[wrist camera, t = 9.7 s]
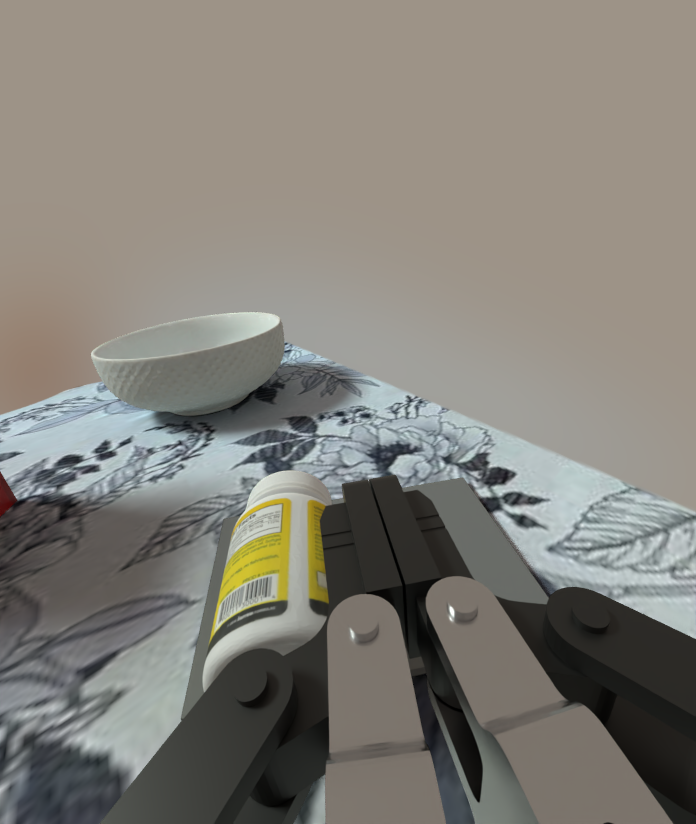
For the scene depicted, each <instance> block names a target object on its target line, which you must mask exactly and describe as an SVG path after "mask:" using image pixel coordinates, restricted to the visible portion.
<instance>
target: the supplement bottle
mask: <svg viewBox="0 0 696 824" xmlns="http://www.w3.org/2000/svg"><path fill="white" fill-rule="evenodd" d="M328 505H332V501H331V496H330V493H329V491H328V489H327V488H326V486H325V485H324V484H323V483H322V482H321V481H320V480H319V479H317V478H316V477H314V476H312V475H310V474H308V473H304V472H300V471H281V472H277V473H274V474H271V475H269V476H267V477H265V478H264V479H262V480H261V481H260V482H259V483H258V484H257V485H256V486H255V487H254V488H253V490H252V492H251V494H250V496H249V499H248V503H247V507H246V510H245V511H244V513H243V514H242V515H241V516H240V518H239V519H238V521H237V523H236V525H235V527H234V530H233V533H232V536H231V541H230V546H229V551H228V556H227V561H226V565H225V569H224V574H223V579H222V584H221V589H220V594H219V598H218V603H217V608H216V612H215V617H214V622H213V627H212V632H211V637H210V641H209V646H208V651H207V655H206V660H205V665H204V670H203V690H204V692H205V691H206V690H207V689H208V687H209V686H210V685H211V684H212V682H213V681H214V680H215V679H216V677H217V676H218V675H219V674H220V672H221V671H222V670H223V669H224V668H225V667H226V665H227V664H228V663H230V662H231V661H232V660H233V659H234V658H236V657H237V656H239V655H240V654H242V653H244V652H246V651H249V650H253V649H258V648H267V649H272V650H274V651H277V652H279V653H280V654H281V655H283V656H284V655H286V654H288V653H289V652H291V651H293V650H295V649H297V648H298V647H300V646H302V645H304V644H305V643H307V642H308V641H310V640H311V639H312V638H313V637H314V636H315V635H316V634H317V633H318V632H319V631H320V629H321V628H322V626H323V625H324V623H325V621H326V618H327V615H328V610H329V599H328V590H327V582H326V573H325V564H324V555H323V546H322V537H321V529H320V518H321V516H322V513H323V511H324V509H325V506H328Z"/></svg>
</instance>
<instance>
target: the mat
mask: <svg viewBox="0 0 696 824" xmlns="http://www.w3.org/2000/svg"><path fill="white" fill-rule="evenodd" d="M402 490H403V492H407V491H413V490H419V491H420V492H421V493H423V494H424V495H425V496H427V497H428V498H429V499H430V500H432V502H433V504H434V506H435V508H436V510H437V512H438V513H439V517H441V519H442V521H443V523H444V525H445V528H446V529H447V530H448V532H449V534H450V536H451V538H452V540H453V541H454V543H455V545H456V547H457V549H458V551H459V553H460V555H461V556H462V558H463V560H464V562H465V564H466V566H467V568H468V570H469V571H470V573H471V575H472V576H473V578H474V579H475V580H476V581H478V582H480V583H482V584H483V585H484V586H486V587H487V588H488V589H489V590H490V591H491V592H492V593H493V594H494V595H495V596H498V597H500V598H503V599H507V600H511V601H518V602H528V603H537V604H547V601H548V599H549V598H548V596H547V595H546V594H545V592H544V591H543V589H542V588H541V587H540V585H539V584H538V582H537V581H536V580H535V578H534V577H533V575H532V574H531V572H530V571H529V570H528V568H527V567H526V565H525V564H524V563H523V561H522V560H521V558H520V557H519V556H518V554H517V553H516V551H515V550H514V549H513V547H512V546H511V544H510V543H509V541H508V540H507V539H506V537H505V536H504V534H503V533H502V532H501V530H500V529H499V527H498V526H497V525H496V523H495V522H494V520H493V519H492V518H491V516H490V515H489V513H488V512H487V510H486V509H485V508H484V506H483V505H482V503H481V502H480V501H479V499H478V498H477V496H476V495H475V494H474V492H473V491H472V489H471V488H470V487H469V485H468V484H467V482H466V481H465V480H464V478H457V479H451V480H445V481H440V482H434V483H428V484H422V485H416V486H411V487H405V488H402ZM331 501H332V505H333V504H339V503H344V499H343V498H341V499H336V500H331ZM239 518H240V516H237V517H231V518H226V519H224V520H223V525H222V529H221V534H220V539H219V543H218V548H217V553H216V557H215V562H214V567H213V571H212V576H211V581H210V585H209V590H208V594H207V599H206V604H205V608H204V613H203V618H202V622H201V627H200V632H199V636H198V641H197V646H196V650H195V655H194V660H193V664H192V669H191V674H190V678H189V683H188V688H187V692H186V697H185V701H184V706H183V711H182V715H181V720H183V719H184V717H185V716H186V715H187V714H188V712H189V711H190V710H191V709H192V707H193V706H194V705H195V704H196V702H197V701H198V700H199V699H200V697H201V696H202V695H203V694H204V690H203V670H204V665H205V660H206V655H207V651H208V646H209V641H210V637H211V632H212V627H213V622H214V617H215V612H216V608H217V603H218V598H219V594H220V589H221V584H222V579H223V574H224V569H225V565H226V561H227V556H228V551H229V546H230V541H231V536H232V533H233V530H234V527H235V525H236V523H237V521H238V519H239ZM406 653H407V658H408V663H409V668H410V673H411V677H412V676H416V675H421V674H426V670H425V667H424V664H423V661H422V657H417V658H412V659H409V655H408V652H407V648H406Z"/></svg>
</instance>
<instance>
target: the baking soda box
mask: <svg viewBox="0 0 696 824" xmlns="http://www.w3.org/2000/svg"><path fill="white" fill-rule="evenodd" d="M16 501H17V499H16V497H15V496H14V494H13V492H12V491H11V489H10V487H9V486H8V484H7V482H6V481H5V479H4V477H3V475H2V474H1V472H0V517H1V516H2V515H3V514H4V513H5V512H6V511H7V510H8V509H9V508H10V507H11V506H12V505H13V504H14V503H15V502H16Z"/></svg>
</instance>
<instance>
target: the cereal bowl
mask: <svg viewBox="0 0 696 824" xmlns="http://www.w3.org/2000/svg"><path fill="white" fill-rule="evenodd" d="M284 347H285V345H284V333H283V325H282V322H281V319H280V318H279V317H278V316H276V315H273V314H268V313H259V312H258V313H257V312H243V313H227V314H217V315H209V316H202V317H196V318H191V319H185V320H180V321H175V322H170V323H165V324H161V325H157V326H153V327H149V328H145V329H142V330H139V331H136V332H132V333H129V334H126V335H123V336H121V337H118V338H116V339H113V340H110V341H108V342H106V343H104V344H102V345H100V346H99V347H97V348H96V349H94V350H93V351H92V354H91V358H92V361H93V363H94V365H95V368H96V370H97V372H98V374H99V376H100V378H101V379H102V381H103V382H104V384H105V385H106V387H107V388H108V389H109V390H110V392H112V393H113V394H114V395H115V396H116V397H118V398H119V399H121V400H122V401H123V402H126V403H128V404H129V405H133V406H135V407H138V408H141V409H146V410H152V411H160V412H163V411H167V412H172V413H174V414H177V415H183V416H196V415H203V414H209V413H213V412H217V411H221V410H224V409H227V408H229V407H232V406H234V405H236V404H238V403H239V402H241V401H242V400H244V399H245V398H246V397H247V396H248V394H249V393H250V392H252V391H253V390H255V389H257V388H258V387H259V386H261V385H262V384H263V383H265V382H266V381H267V380H268V379H270V378H271V376H272V375H274V373H275V372H276V371H277V369H278V367H279V365H280V364H281V361H282V357H283V355H284Z"/></svg>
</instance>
